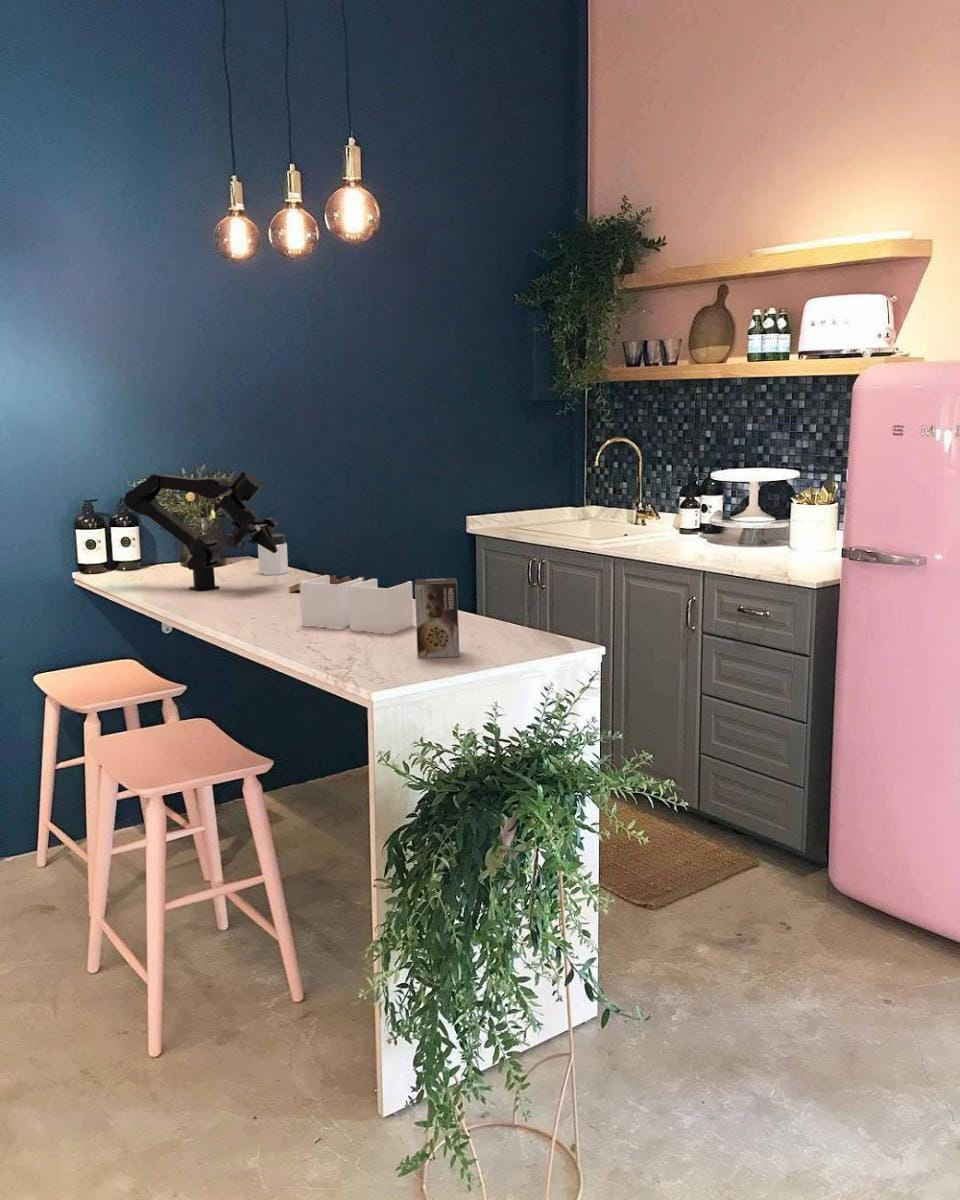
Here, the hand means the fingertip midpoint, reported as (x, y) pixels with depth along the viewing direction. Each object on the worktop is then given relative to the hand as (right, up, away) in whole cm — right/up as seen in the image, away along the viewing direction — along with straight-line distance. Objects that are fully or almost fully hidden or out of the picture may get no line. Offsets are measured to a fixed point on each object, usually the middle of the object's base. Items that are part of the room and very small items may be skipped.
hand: (275, 552), depth 319 cm
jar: (-7, -5, +34) cm, 35 cm away
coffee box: (+49, -26, -78) cm, 96 cm away
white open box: (+28, -20, -47) cm, 58 cm away
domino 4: (+17, -11, -3) cm, 21 cm away
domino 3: (+13, -11, -1) cm, 17 cm away
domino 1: (+5, -10, +1) cm, 11 cm away
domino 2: (+9, -11, 0) cm, 14 cm away
